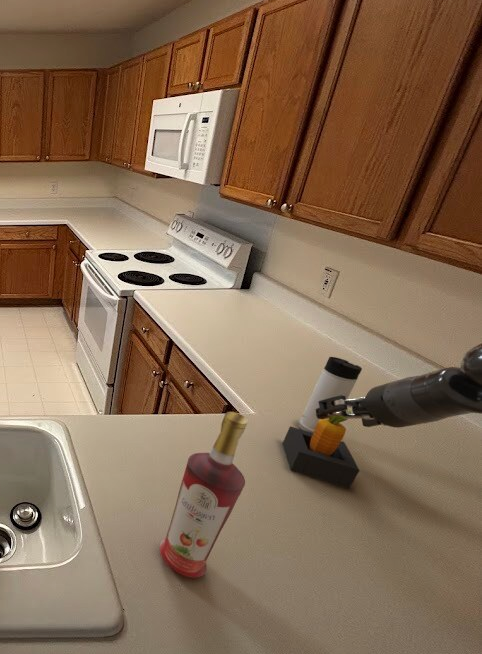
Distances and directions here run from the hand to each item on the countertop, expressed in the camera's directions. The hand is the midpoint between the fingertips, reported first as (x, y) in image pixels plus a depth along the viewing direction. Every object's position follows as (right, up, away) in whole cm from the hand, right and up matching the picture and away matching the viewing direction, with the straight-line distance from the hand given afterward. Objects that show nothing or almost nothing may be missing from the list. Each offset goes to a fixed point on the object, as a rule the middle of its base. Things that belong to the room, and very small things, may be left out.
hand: (340, 417), depth 85 cm
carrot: (-1, -12, +6) cm, 13 cm away
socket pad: (-1, -12, +6) cm, 13 cm away
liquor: (-43, -19, -19) cm, 51 cm away
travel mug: (+9, -8, +18) cm, 22 cm away
